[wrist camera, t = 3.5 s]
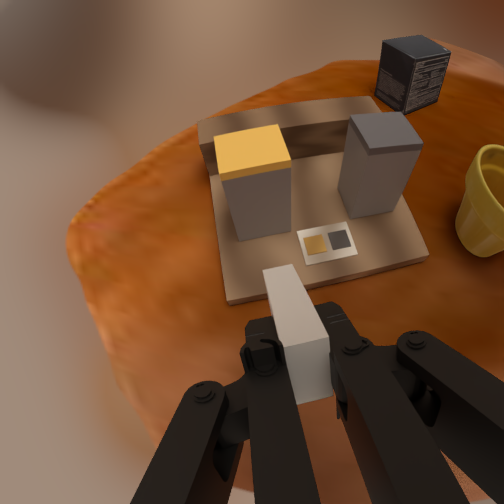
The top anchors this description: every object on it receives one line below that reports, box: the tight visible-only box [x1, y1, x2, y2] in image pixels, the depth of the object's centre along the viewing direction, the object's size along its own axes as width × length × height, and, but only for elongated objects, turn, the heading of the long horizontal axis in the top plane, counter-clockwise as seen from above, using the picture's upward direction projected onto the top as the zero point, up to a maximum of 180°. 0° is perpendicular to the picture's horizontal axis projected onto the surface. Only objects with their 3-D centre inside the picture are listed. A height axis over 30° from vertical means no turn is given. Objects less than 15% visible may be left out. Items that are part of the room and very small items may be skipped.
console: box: [197, 96, 429, 306], centre depth 29 cm, size 20×19×6 cm
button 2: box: [214, 124, 291, 242], centre depth 25 cm, size 5×4×10 cm
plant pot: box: [455, 144, 504, 257], centre depth 24 cm, size 10×10×10 cm
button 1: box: [337, 112, 424, 219], centre depth 25 cm, size 5×4×10 cm
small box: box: [375, 35, 451, 115], centre depth 35 cm, size 11×6×10 cm, turn 121°
